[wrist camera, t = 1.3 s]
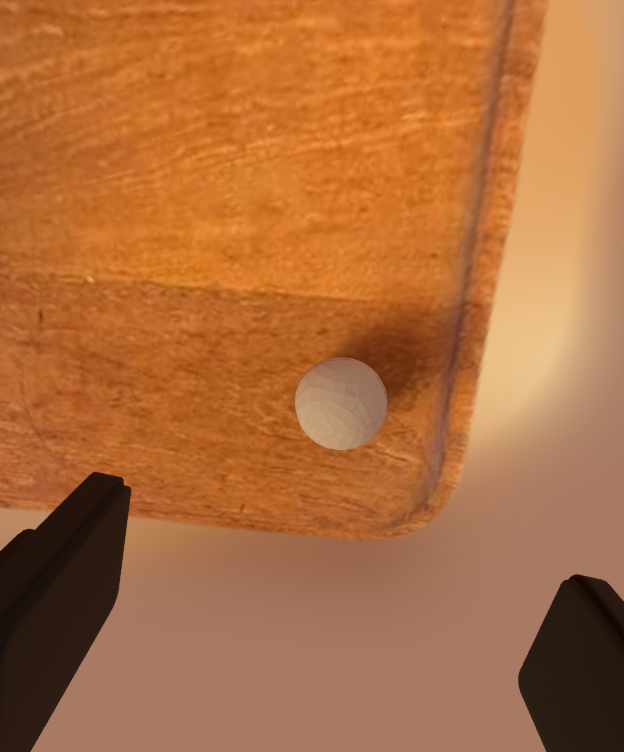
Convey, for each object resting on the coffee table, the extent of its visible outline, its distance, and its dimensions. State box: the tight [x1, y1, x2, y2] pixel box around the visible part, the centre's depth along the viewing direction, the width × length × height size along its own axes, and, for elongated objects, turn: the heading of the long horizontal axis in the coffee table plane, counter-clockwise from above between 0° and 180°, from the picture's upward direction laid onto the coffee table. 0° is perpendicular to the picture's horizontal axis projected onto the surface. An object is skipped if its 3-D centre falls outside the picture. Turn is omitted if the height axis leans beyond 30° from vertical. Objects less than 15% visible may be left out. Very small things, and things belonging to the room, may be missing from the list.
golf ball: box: [295, 357, 388, 450], centre depth 19 cm, size 4×4×4 cm
